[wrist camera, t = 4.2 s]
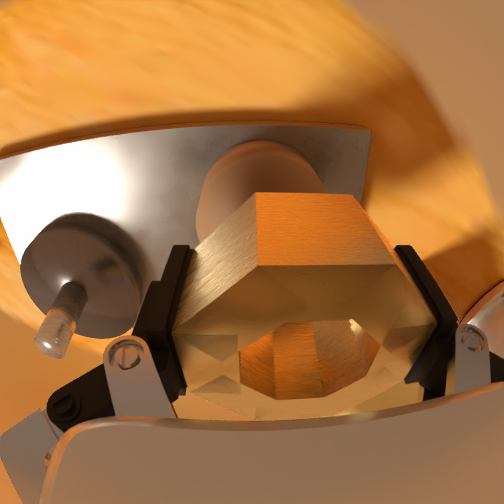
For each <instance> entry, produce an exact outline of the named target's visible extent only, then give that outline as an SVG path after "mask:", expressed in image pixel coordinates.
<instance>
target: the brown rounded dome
mask: <svg viewBox="0 0 504 504" xmlns="http://www.w3.org/2000/svg"><path fill="white" fill-rule="evenodd" d="M255 192H273V193H321V194H328V193H327V191H326V189H325V188H324V186H323V184H322V183H321V181H320V179H319V178H318V176H317V174H316V173H315V171H314V170H313V168H312V166H311V165H310V163H309V162H308V161H307V160H306V158H305V157H304V156H302V155H301V154H300V153H299V152H298V151H296V150H295V149H293V148H291V147H289V146H287V145H285V144H282V143H279V142H275V141H269V140H255V141H249V142H245V143H242V144H239V145H236V146H234V147H232V148H230V149H229V150H227V151H226V152H224V153H223V154H222V155H221V156H220V157H219V158H218V159H217V160H216V161H215V162H214V163H213V165H212V166H211V168H210V169H209V171H208V173H207V175H206V178H205V182H204V185H203V189H202V193H201V196H200V200H199V204H198V208H197V213H196V230H197V235H198V238H199V241H200V243H202V242H203V241H204V240H205V239H206V238H207V237H208V236H209V235H210V234H211V233H212V232H213V231H214V230H215V229H216V228H217V227H219V226H220V225H221V224H222V223H223V222H224V221H225V220H226V219H227V218H228V217H229V216H230V215H231V214H233V213H234V212H235V211H236V210H237V209H238V208H239V207H240V206H241V205H242V204H243V203H244V202H246V201H247V200H248V199H249V198H250V197H251V196H252V195H253V194H254V193H255Z"/></svg>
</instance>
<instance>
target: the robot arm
mask: <svg viewBox="0 0 504 504" xmlns="http://www.w3.org/2000/svg"><path fill="white" fill-rule="evenodd" d="M193 250H194V249H190V246H189V245H173V247H172V249H171V252H170V255H169V258H168V260H167V263H166V266H165V269H164V271H163V274H162V277H161V280H160V281H151V283H150V285H149V287H148V290H147V293H146V295H145V298H144V301H143V303H142V306H141V309H140V312H139V315H138V317H137V320H136V323H135V326H134V329H133V332H132V335H131V336H129V335H127V336H122V337H119V338H117V339H115V340H113V341H112V342H111V343H109V345H108V346H107V347H106V349H105V351H104V354H103V364H101V365H99V366H98V367H96V368H94V369H92V370H91V371H89V372H87V373H86V374H84V375H82V376H80V377H79V378H77V379H75V380H73V381H72V382H70V383H68V384H67V385H65V386H63V387H61V388H60V389H58V390H57V391H55V392H54V393H53V394H52V395H51V396H50V398H49V400H48V402H47V408H46V409H45V410H43V411H42V410H41V409H38V410H37V411H35V412H34V413H32V414H31V415H29V416H28V417H27V418H25V419H24V420H22V421H21V422H19V423H18V424H16V425H15V426H13V427H12V428H10V429H9V430H7V431H6V432H5V433H4V434H3V435H1V437H0V457H1V460H2V462H3V464H4V467H5V469H6V471H7V473H8V475H9V477H10V479H11V481H12V483H13V485H14V487H15V489H16V491H17V493H18V495H19V497H20V499H21V501H22V502H23V504H504V281H503V282H502V283H500V284H499V285H497V286H496V287H494V288H493V289H492V290H491V291H489V292H488V293H487V294H486V295H485V296H484V297H483V298H482V299H480V300H479V301H478V302H477V303H476V304H475V306H474V307H473V308H472V309H471V310H470V311H469V312H468V314H467V315H466V316H465V317H464V319H463V320H462V322H461V323H460V325H459V326H458V324H457V323H456V322H457V320H458V318H457V316H456V315H455V313H454V311H453V310H452V308H451V306H450V304H449V303H448V301H447V299H446V298H445V296H444V295H443V293H442V291H441V290H440V288H439V287H438V285H437V283H436V282H435V280H434V279H433V277H432V276H431V274H430V273H429V271H428V269H427V268H426V266H425V265H424V263H423V262H422V261H421V259H420V258H419V256H418V255H417V253H416V252H415V250H414V249H413V247H412V246H410V245H397V246H396V247H395V249H394V250H395V251H396V253H397V254H398V256H399V257H400V259H401V261H402V262H403V264H404V265H405V267H406V269H407V270H408V272H409V274H410V275H411V277H412V279H413V280H414V282H415V284H416V286H417V287H418V289H419V291H420V292H421V294H422V296H423V298H424V300H425V301H426V303H427V305H428V307H429V309H430V310H431V312H432V314H433V316H434V318H435V320H436V321H437V325H436V327H435V329H434V330H433V332H432V334H431V336H430V338H429V339H428V341H427V343H426V344H425V346H424V348H423V350H422V351H421V353H420V355H419V356H418V358H417V359H416V361H415V363H414V364H413V366H412V367H411V369H410V370H409V372H408V374H407V375H406V377H405V378H404V381H405V384H410V383H416V382H418V383H419V385H420V387H419V393H418V399H417V403H414V404H409V405H404V406H399V407H394V408H388V409H383V410H377V411H371V412H364V413H357V414H349V415H341V416H332V417H322V418H310V419H296V420H276V421H220V420H219V421H218V420H194V419H179V418H178V415H177V413H176V411H175V409H174V406H173V404H172V403H173V402H174V401H175V400H177V399H178V396H179V395H185V394H186V387H188V386H187V383H186V380H185V377H184V374H183V371H182V367H181V364H180V361H179V358H178V354H177V351H176V348H175V344H174V341H173V337H172V334H171V332H172V328H173V326H174V323H175V319H176V315H177V311H178V307H179V303H180V299H181V295H182V291H183V288H184V284H185V280H186V276H187V272H188V269H189V265H190V261H191V258H192V254H193Z"/></svg>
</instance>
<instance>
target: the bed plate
mask: <svg viewBox="0 0 504 504" xmlns="http://www.w3.org/2000/svg"><path fill="white" fill-rule="evenodd" d="M371 133H372V131H370V130H369V129H367V128H365V127H364V126H357V125H347V124H335V123H322V122H304V121H272V120H242V121H210V122H193V123H179V124H167V125H157V126H148V127H139V128H131V129H124V130H117V131H111V132H104V133H98V134H92V135H87V136H82V137H76V138H71V139H67V140H62V141H57V142H53V143H48V144H44V145H40V146H36V147H32V148H28V149H24V150H21V151H17V152H14V153H10V154H7V155H3V156H0V216H1V218H2V221H3V224H4V226H5V229H6V232H7V234H8V237H9V239H10V242H11V244H12V246H13V249H14V251H15V253H16V256H17V258H18V260H19V262H20V263H21V258H22V254H23V252H24V250H25V249H26V247H27V246H28V245H29V244H30V242H31V241H32V240H33V239H34V237H35V236H36V235H37V234H38V233H39V232H40V231H41V230H42V229H43V228H45V227H47V226H49V225H51V224H54V223H60V222H72V223H78V224H82V225H86V226H88V227H91V228H93V229H95V230H97V231H99V232H101V233H103V234H104V235H106V236H107V237H109V238H110V239H112V240H113V241H114V242H115V243H117V244H118V245H119V246H120V247H121V248H122V249H123V250H124V251H125V252H126V253H127V255H128V256H129V257H130V258H131V260H132V261H133V263H134V264H135V266H136V268H137V270H138V272H139V274H140V277H141V280H142V285H143V299H142V302H141V306H142V303H143V301H144V298H145V295H146V293H147V290H148V287H149V285H150V283H151V281H160V280H161V277H162V274H163V271H164V269H165V266H166V263H167V260H168V258H169V255H170V252H171V249H172V247H173V245H189V246H190V249H195V248H196V247H197V246H198V245H199V244H200V241H199V238H198V235H197V230H196V213H197V208H198V204H199V200H200V196H201V193H202V189H203V185H204V182H205V178H206V175H207V173H208V171H209V169H210V168H211V166H212V165H213V163H214V162H215V161H216V160H217V159H218V158H219V157H220V156H221V155H222V154H223V153H224V152H226V151H227V150H229V149H230V148H232V147H234V146H236V145H239V144H242V143H245V142H249V141H255V140H269V141H275V142H279V143H282V144H285V145H287V146H289V147H291V148H293V149H295V150H296V151H298V152H299V153H300V154H301V155H302V156H304V157H305V158H306V160H307V161H308V162H309V163H310V165H311V166H312V168H313V170H314V171H315V173H316V174H317V176H318V178H319V179H320V181H321V183H322V184H323V186H324V188H325V189H326V191H327V193H328V194H347V195H353V197H354V198H355V199H356V200H357V202H358V203H359V204H361V199H362V193H363V187H364V181H365V175H366V169H367V162H368V155H369V148H370V141H371ZM141 306H140V309H141ZM140 309H139V312H140ZM139 312H138V315H139ZM138 315H137V317H138ZM136 320H137V319H136ZM135 323H136V321H135ZM135 323H134V325H133V326H132V327H133V328H134V326H135Z"/></svg>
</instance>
